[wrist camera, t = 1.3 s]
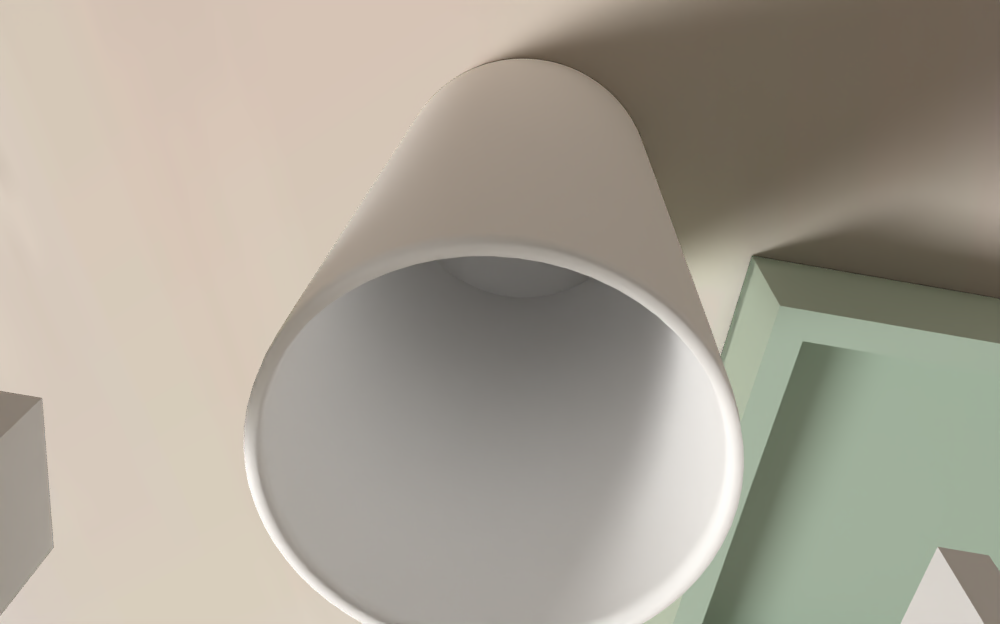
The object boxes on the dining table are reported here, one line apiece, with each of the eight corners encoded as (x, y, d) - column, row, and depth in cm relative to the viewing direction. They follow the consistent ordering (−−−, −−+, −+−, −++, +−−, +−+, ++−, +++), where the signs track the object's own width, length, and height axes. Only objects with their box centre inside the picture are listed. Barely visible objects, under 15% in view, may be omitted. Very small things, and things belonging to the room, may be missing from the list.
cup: (599, 16, 26) (655, 158, 12) (680, 253, 29) (803, 597, 15) (357, 115, 28) (144, 345, 13) (457, 329, 31) (373, 703, 17)
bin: (752, 255, 29) (780, 305, 25) (1271, 345, 29) (1371, 407, 26) (631, 642, 37) (639, 723, 33) (1043, 711, 37) (1095, 797, 34)
